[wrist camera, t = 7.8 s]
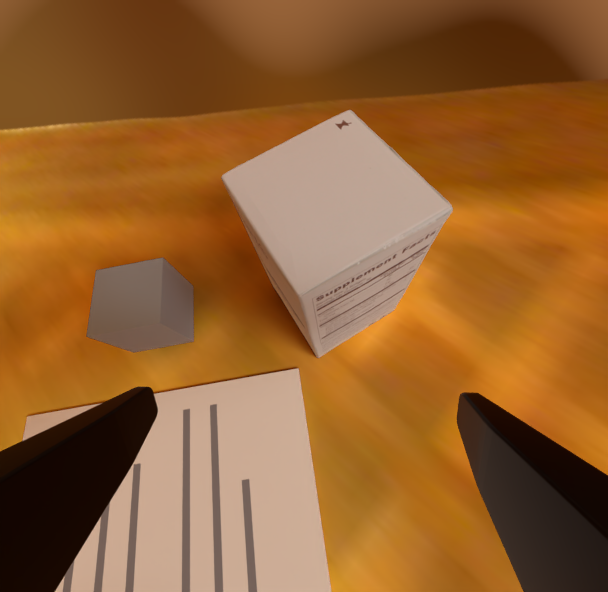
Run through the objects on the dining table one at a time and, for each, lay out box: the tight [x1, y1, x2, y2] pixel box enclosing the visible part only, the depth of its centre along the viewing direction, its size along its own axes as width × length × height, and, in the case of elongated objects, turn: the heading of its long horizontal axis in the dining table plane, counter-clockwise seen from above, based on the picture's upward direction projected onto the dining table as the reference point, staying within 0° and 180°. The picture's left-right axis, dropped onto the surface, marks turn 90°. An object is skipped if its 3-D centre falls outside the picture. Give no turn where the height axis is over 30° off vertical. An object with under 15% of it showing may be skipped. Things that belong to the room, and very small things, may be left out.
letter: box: [22, 368, 331, 592], centre depth 19 cm, size 14×21×1 cm, turn 99°
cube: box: [86, 258, 194, 352], centre depth 22 cm, size 5×5×5 cm
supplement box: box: [221, 110, 453, 358], centre depth 18 cm, size 7×7×13 cm
